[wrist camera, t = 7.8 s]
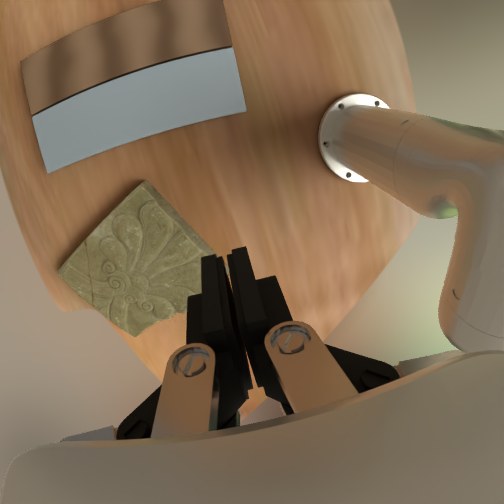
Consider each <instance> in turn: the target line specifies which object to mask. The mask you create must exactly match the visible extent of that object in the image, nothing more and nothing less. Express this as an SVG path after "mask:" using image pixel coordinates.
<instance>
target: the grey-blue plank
mask: <svg viewBox="0 0 504 504" xmlns="http://www.w3.org/2000/svg"><path fill="white" fill-rule="evenodd" d="M246 111H247V110H246V105H245V100H244V96H243V91H242V86H241V81H240V77H239V72H238V67H237V63H236V58H235V54H234V49H233V48H228V49H222V50H217V51H212V52H207V53H203V54H198V55H194V56H190V57H186V58H182V59H178V60H174V61H171V62H167V63H163V64H160V65H157V66H153V67H150V68H147V69H144V70H141V71H138V72H135V73H132V74H129V75H126V76H123V77H120V78H117V79H115V80H112V81H109V82H107V83H104V84H102V85H99V86H97V87H94V88H92V89H89V90H87V91H85V92H82V93H80V94H78V95H76V96H73V97H71V98H69V99H67V100H65V101H63V102H61V103H59V104H56V105H54V106H52V107H50V108H48V109H47V110H45V111H43V112H41V113H39V114H37V115H35V116H33V117H32V120H33V124H34V128H35V132H36V136H37V140H38V143H39V147H40V150H41V154H42V157H43V160H44V164H45V167H46V170H47V173H48V174H49V173H51V172H53V171H56V170H58V169H60V168H63V167H65V166H67V165H70V164H72V163H75V162H77V161H80V160H82V159H85V158H87V157H90V156H92V155H95V154H98V153H100V152H103V151H106V150H108V149H111V148H114V147H117V146H120V145H123V144H126V143H129V142H132V141H135V140H138V139H141V138H144V137H147V136H150V135H154V134H157V133H160V132H164V131H167V130H171V129H174V128H178V127H182V126H185V125H189V124H193V123H197V122H201V121H205V120H209V119H213V118H218V117H222V116H227V115H231V114H236V113H241V112H246Z"/></svg>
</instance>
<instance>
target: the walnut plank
mask: <svg viewBox="0 0 504 504" xmlns="http://www.w3.org/2000/svg"><path fill="white" fill-rule="evenodd" d="M231 47H232V40H231V36H230V31H229V27H228V22H227V18H226V13H225V9H224V4H223V0H161V1H157V2H154V3H151V4H147V5H144V6H141V7H138V8H134V9H131V10H129V11H126V12H123V13H120V14H117V15H115V16H112V17H109V18H107V19H104V20H102V21H99V22H97V23H94V24H92V25H90V26H87V27H85V28H83V29H81V30H78V31H76V32H74V33H72V34H70V35H68V36H66V37H64V38H62V39H60V40H58V41H56V42H54V43H52V44H50V45H48V46H46V47H45V48H43V49H41V50H39V51H37V52H36V53H34V54H32V55H30V56H29V57H27V58H25V59H24V60H22V61H21V68H22V74H23V79H24V85H25V90H26V94H27V99H28V103H29V108H30V112H31V115H35V114H39V113H41V112H43V111H45V110H47V109H48V108H50V107H52V106H54V105H56V104H59V103H61V102H63V101H65V100H67V99H69V98H71V97H73V96H76V95H78V94H80V93H82V92H85V91H87V90H89V89H92V88H94V87H97V86H99V85H102V84H104V83H107V82H109V81H112V80H115V79H117V78H120V77H123V76H126V75H129V74H132V73H135V72H138V71H141V70H144V69H147V68H150V67H153V66H157V65H160V64H163V63H167V62H171V61H174V60H178V59H182V58H186V57H190V56H194V55H198V54H203V53H207V52H212V51H217V50H222V49H228V48H231Z"/></svg>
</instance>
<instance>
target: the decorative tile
mask: <svg viewBox="0 0 504 504" xmlns="http://www.w3.org/2000/svg"><path fill="white" fill-rule="evenodd" d="M212 254H216V253H215V252H214V251H213V250H212V249H211V248H210V247H209V246H208V245H207V244H206V243H205V242H204V240H203V239H202V238H201V237H200V236H199V235H198V234H197V233H196V232H195V231H194V230H193V229H192V228H191V227H190V226H189V225H188V224H187V223H186V221H185V220H184V219H183V218H182V217H181V216H180V215H179V214H178V213H177V212H176V211H175V210H174V209H173V207H172V206H171V205H170V204H169V203H168V202H167V201H166V200H165V199H164V198H163V197H162V196H161V195H160V194H159V193H158V192H157V191H156V189H155V188H154V187H153V186H152V185H151V184H150V183H149V182H148V181H143V182H142V183H141V184H140V185H139V186H137V187H136V188H135V189H134V190H133V191H132V192H131V193H130V194H129V195H128V196H127V197H126V198H125V199H124V200H123V201H122V202H121V203H120V204H119V205H118V206H117V207H116V208H115V209H114V210H113V211H112V212H111V213H110V214H109V215H108V216H107V217H106V218H105V219H104V220H103V221H102V222H101V223H100V224H99V225H98V226H97V227H96V228H95V229H94V230H93V231H92V232H91V233H90V234H89V235H88V237H87V238H86V239H85V240H84V241H83V242H82V243H81V244H80V245H79V246H78V247H77V248H76V250H75V251H74V252H73V253H72V254H71V255H70V256H69V258H68V259H67V260H66V261H65V262H64V263H63V265H62V266H61V267H60V268H59V270H58V275H59V276H60V277H61V278H62V280H64V281H65V282H66V283H67V284H68V285H69V286H70V287H71V288H72V289H73V290H74V291H75V292H76V293H77V294H78V295H79V296H81V297H82V298H83V299H85V300H86V301H87V302H88V303H90V304H91V305H92V306H93V307H94V308H96V309H97V310H98V311H99V312H101V313H102V314H103V315H104V316H105V317H107V318H108V319H109V320H111V321H112V322H113V323H115V324H116V325H117V326H118V327H119V328H121V329H122V330H124V331H125V332H127V333H129V334H131V335H132V336H134V337H137V336H138V335H139V334H141V333H142V332H143V331H144V330H145V329H147V328H148V327H150V326H151V325H153V324H154V323H156V322H158V321H162V320H165V319H169V318H171V317H172V316H173V315H175V314H176V313H185V312H187V298H188V296H191V295H195V294H199V293H202V290H201V257H204V256H208V255H212ZM216 256H217V255H216ZM217 257H218V256H217ZM224 264H225V263H224ZM225 267H226V271H227V275H229V268H228V267H227V265H226V264H225Z"/></svg>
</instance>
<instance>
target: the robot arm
mask: <svg viewBox="0 0 504 504" xmlns="http://www.w3.org/2000/svg"><path fill="white" fill-rule="evenodd" d="M374 102H375V104H374ZM338 105H340V107H339V108H338ZM324 142H326V143H325V145H323V143H324ZM318 144H319V149H320V153H321V156H322V158H323V160H324V162H325V163H326V164H327V166H328V167H329V169H331V170H332V171H333V172H334V173H335V174H336V175H338V176H339V177H341V178H343V179H345V180H347V181H351V182H362V183H363V182H368V181H369V182H371V183H372V184H374V185H376V186H377V187H379V188H380V189H382V190H384V191H385V192H387V193H388V194H390V195H391V196H393V197H395V198H396V199H398V200H399V201H401V202H402V203H404V204H405V205H407V206H408V207H410V208H411V209H413V210H414V211H416V212H417V213H419V214H421V215H423V216H426V217H429V218H434V219H445V218H450V217H454V216H457V215H458V223H457V229H456V234H455V242H454V246H453V251H452V255H451V259H450V263H449V267H448V270H447V274H446V278H445V281H444V286H443V289H442V293H441V297H440V302H439V308H438V312H439V313H438V316H439V323H440V327H441V329H442V331H443V333H444V335H445V336H446V338H447V339H448V340H449V341H450V343H451V344H452V345H454V346H455V347H456V348H458V349H459V350H460V351H459V350H453V351H447V352H444V353H439V354H434V355H430V356H425V357H420V358H415V359H410V360H405V361H400V362H399V365H397V366H391V365H389V364H387V363H385V362H382V361H378V360H375V359H372V358H368V357H365V356H361V355H358V354H355V353H351V352H348V351H345V350H342V349H339V348H336V347H332V346H329V345H326V344H324V343H323V342H322V340H321V339H320V337H319V336H318V335H317V333H316V332H315V330H314V329H313V328H312V327H311V326H310V325H308V324H306V323H304V322H299V321H293V319H292V317H291V314H290V311H289V309H288V306H287V304H286V301H285V299H284V296H283V293H282V291H281V288H280V286H279V283H278V281H277V278H276V276H275V275H274V276H270V277H266V278H262V279H258V280H255V276H254V273H253V269H252V266H251V262H250V259H249V255H248V252H247V248H246V246H245V247H241V248H237V249H233V250H232V254H229V255H227V260H228V267H229V273H230V279H231V285H232V289H231V285H230V282H229V278H228V275H227V271H226V267H225V264H224V260H223V257H222V256H221V257H217V256H216V254H212V255H208V256H204V257H201V290H202V293H199V294H195V295H191V296H188V298H187V330H186V345H185V346H182V347H180V348H179V349H177V350H176V351H175V352H174V353H173V354H172V355H171V356H170V358H169V360H168V362H167V366H166V370H165V374H164V379H163V383H162V385H161V386H160V387H159V388H158V389H157V390H155V391H154V392H153V393H152V394H151V395H150V396H149V397H148V398H147V399H146V400H145V401H144V402H143V403H142V404H140V406H138V407H137V408H136V409H135V410H134V411H133V412H132V413H131V414H130V415H129V416H128V417H126V418H125V419H124V420H123V422H122V423H121V424H120V425H119V427H118V428H115V427H114V426H109V427H106V428H102V429H98V430H94V431H90V432H86V433H82V434H78V435H73V436H69V437H66V438H64V439H62V440H61V441H60V442H57V443H49V444H44V445H40V446H36V447H33V448H31V449H28V450H25V451H24V452H22V453H20V454H19V455H17V456H16V457H15V458H14V459H13V460H12V462H11V463H10V465H9V467H8V469H7V472H6V475H5V478H4V482H3V486H2V490H1V495H0V504H504V131H503V130H494V129H487V128H481V127H474V126H470V125H465V124H460V123H456V122H451V121H447V120H442V119H438V118H434V117H430V116H425V115H421V114H416V113H411V112H406V111H400V110H395V109H390V108H389V107H388V105H387V104H386V103H384V102H383V101H382V100H381V99H379V98H377V97H375V96H372V95H368V94H362V93H356V94H349V95H346V96H343V97H341V98H339V99H337V100H336V101H335V102H334V103H333V104H331V105H330V106H329V108H328V109H327V110H326V112H325V113H324V115H323V117H322V119H321V122H320V126H319V131H318ZM346 173H347V175H346ZM232 291H233V292H232ZM245 348H246V349H245ZM246 352H247V354H246ZM247 355H248V358H249V361H250V364H251V367H252V371H253V374H254V377H255V380H256V383H257V386H258V387H264V390H265V394H266V396H268V397H270V398H272V399H275V400H277V401H279V404H280V407H281V409H282V411H283V413H284V415H285V416H284V417H279V418H275V419H271V420H267V421H262V422H258V423H253V424H248V425H243V426H240V416H241V415H240V410H239V408H240V407H241V406H242V404H243V403H244V402H245V401H246V399H249V396H248V390H250V389H253V385H252V380H251V375H250V370H249V364H248V359H247Z"/></svg>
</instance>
